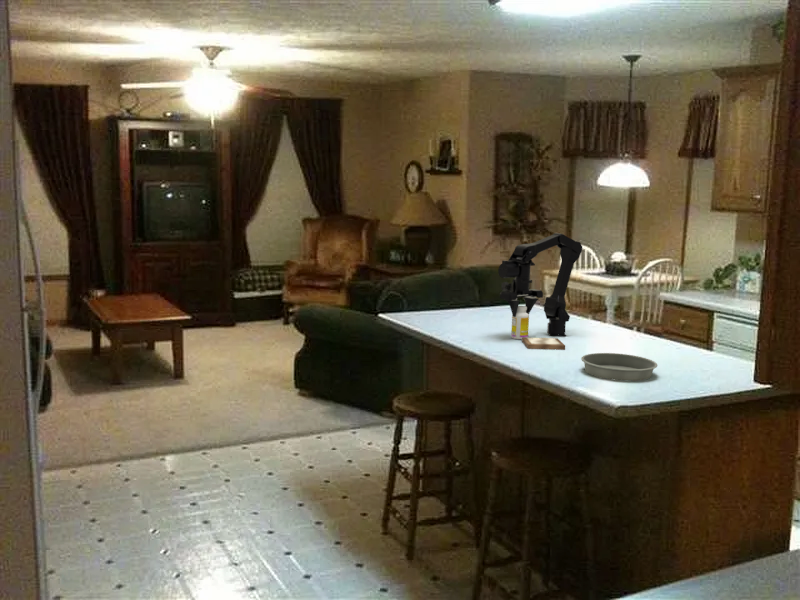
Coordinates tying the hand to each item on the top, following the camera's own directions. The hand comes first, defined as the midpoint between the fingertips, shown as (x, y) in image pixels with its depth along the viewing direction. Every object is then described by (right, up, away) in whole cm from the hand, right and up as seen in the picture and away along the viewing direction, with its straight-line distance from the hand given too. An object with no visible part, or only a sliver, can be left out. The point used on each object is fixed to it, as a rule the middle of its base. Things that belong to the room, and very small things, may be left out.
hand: (520, 316), depth 329 cm
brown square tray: (+7, -11, -11) cm, 17 cm away
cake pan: (+25, -18, -53) cm, 62 cm away
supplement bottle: (0, -9, +1) cm, 9 cm away
